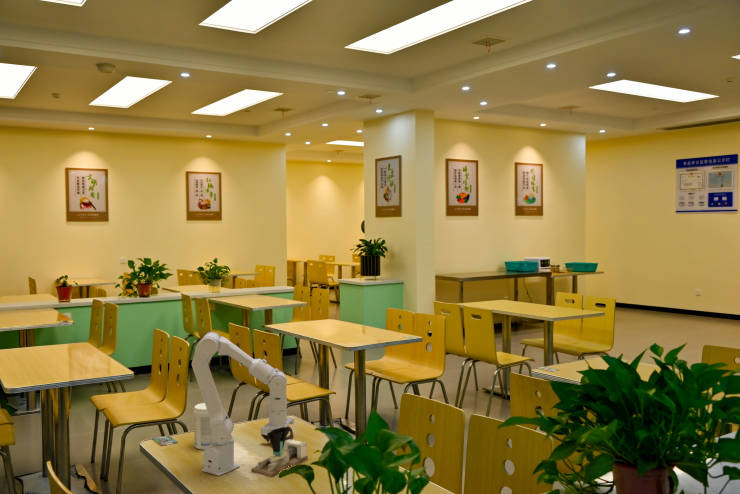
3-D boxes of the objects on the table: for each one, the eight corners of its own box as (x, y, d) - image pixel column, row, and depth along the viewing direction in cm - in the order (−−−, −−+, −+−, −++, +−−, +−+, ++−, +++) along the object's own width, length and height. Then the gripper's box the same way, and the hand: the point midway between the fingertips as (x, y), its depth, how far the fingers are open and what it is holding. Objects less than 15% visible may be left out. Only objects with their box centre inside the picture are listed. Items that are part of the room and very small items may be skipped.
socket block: (300, 458, 213) (300, 445, 213) (283, 454, 217) (283, 441, 217) (306, 456, 216) (306, 442, 216) (289, 452, 220) (289, 439, 220)
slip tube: (274, 467, 205) (274, 444, 205) (267, 465, 207) (267, 442, 207) (297, 456, 215) (297, 434, 215) (290, 454, 217) (290, 433, 217)
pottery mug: (292, 440, 237) (297, 424, 233) (287, 460, 228) (292, 443, 225) (260, 432, 236) (265, 416, 232) (255, 451, 228) (259, 435, 224)
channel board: (271, 477, 200) (271, 467, 200) (251, 471, 204) (251, 462, 204) (307, 459, 216) (307, 450, 216) (288, 454, 220) (288, 446, 220)
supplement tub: (227, 444, 231) (227, 403, 231) (210, 452, 222) (210, 410, 222) (205, 440, 235) (205, 400, 235) (188, 448, 226) (188, 407, 226)
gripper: (272, 416, 200) (272, 459, 201) (301, 406, 213) (301, 446, 213) (255, 413, 204) (255, 455, 204) (284, 403, 216) (284, 442, 217)
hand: (277, 450), depth 209 cm, fingers closed on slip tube
